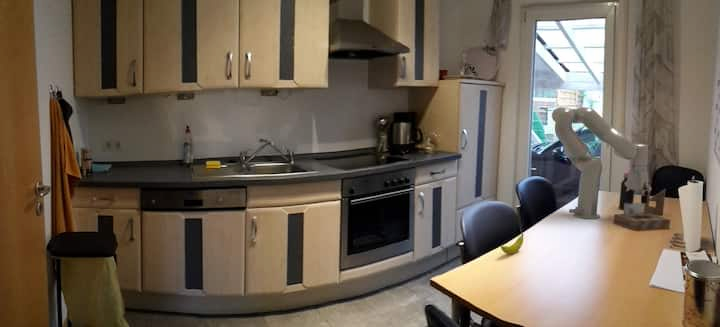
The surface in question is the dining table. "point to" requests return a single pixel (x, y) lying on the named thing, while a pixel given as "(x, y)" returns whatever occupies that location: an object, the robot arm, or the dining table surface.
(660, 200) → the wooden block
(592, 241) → the dining table surface
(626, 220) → the post base
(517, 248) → the banana
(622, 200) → the bottle
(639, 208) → the grey bar
